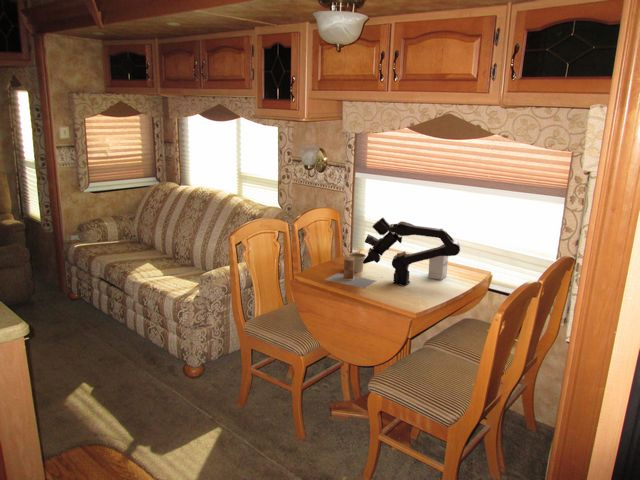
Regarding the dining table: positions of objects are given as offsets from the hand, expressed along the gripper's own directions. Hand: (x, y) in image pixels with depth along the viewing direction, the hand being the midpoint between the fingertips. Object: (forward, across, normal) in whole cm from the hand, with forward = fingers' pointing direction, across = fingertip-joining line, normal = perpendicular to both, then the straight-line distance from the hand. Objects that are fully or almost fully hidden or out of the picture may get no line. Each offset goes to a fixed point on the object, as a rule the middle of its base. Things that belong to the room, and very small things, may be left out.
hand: (363, 263), depth 250 cm
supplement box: (-18, -14, +32) cm, 39 cm away
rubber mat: (+10, +2, +2) cm, 11 cm away
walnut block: (+11, 0, +1) cm, 11 cm away
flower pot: (+10, -13, +3) cm, 17 cm away
